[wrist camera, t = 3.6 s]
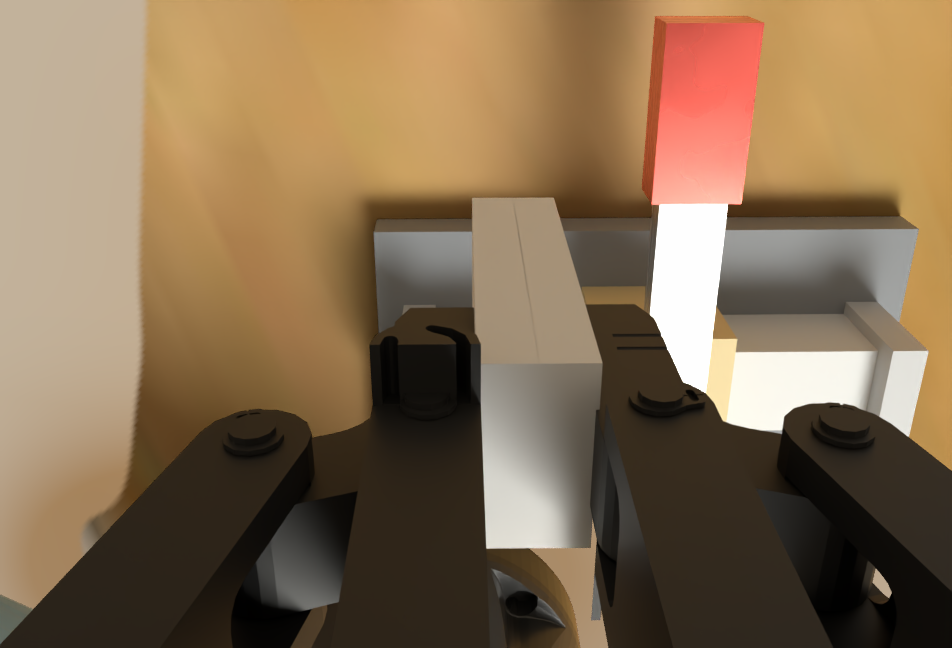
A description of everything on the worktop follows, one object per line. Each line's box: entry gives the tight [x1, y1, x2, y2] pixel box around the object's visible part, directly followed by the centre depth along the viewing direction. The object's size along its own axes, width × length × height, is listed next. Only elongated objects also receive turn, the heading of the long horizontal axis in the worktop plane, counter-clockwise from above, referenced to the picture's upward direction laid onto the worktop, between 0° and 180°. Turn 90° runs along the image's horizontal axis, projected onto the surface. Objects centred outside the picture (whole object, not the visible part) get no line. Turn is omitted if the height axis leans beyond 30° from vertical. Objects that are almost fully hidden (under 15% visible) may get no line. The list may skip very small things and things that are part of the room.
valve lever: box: [642, 16, 764, 393], centre depth 28 cm, size 3×14×2 cm, turn 0°
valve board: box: [374, 216, 928, 437], centre depth 34 cm, size 20×10×6 cm, turn 90°
